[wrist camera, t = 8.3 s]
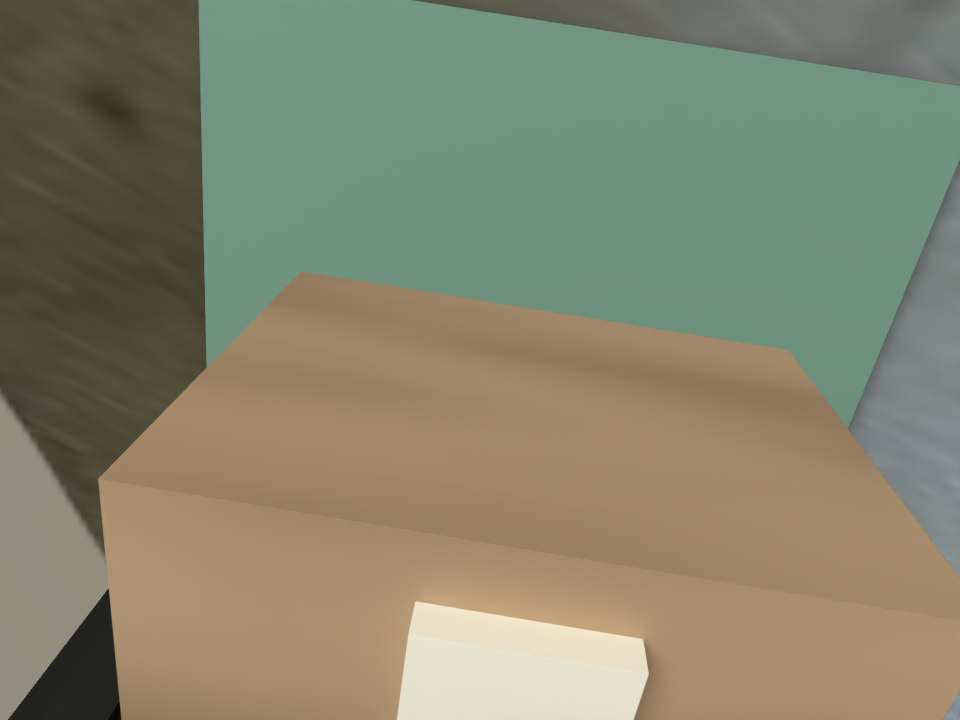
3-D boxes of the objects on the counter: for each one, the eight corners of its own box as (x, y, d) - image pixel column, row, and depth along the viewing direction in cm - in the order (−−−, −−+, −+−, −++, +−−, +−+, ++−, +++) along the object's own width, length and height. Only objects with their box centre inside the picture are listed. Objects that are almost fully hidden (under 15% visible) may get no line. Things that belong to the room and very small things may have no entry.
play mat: (977, 89, 15) (988, 90, 15) (766, 605, 21) (769, 616, 21) (206, -33, 15) (198, -33, 15) (215, 511, 21) (210, 519, 21)
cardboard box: (635, 780, 12) (687, 1197, 8) (283, 721, 12) (141, 1101, 8) (788, 350, 9) (1023, 664, 5) (300, 271, 9) (71, 506, 5)
